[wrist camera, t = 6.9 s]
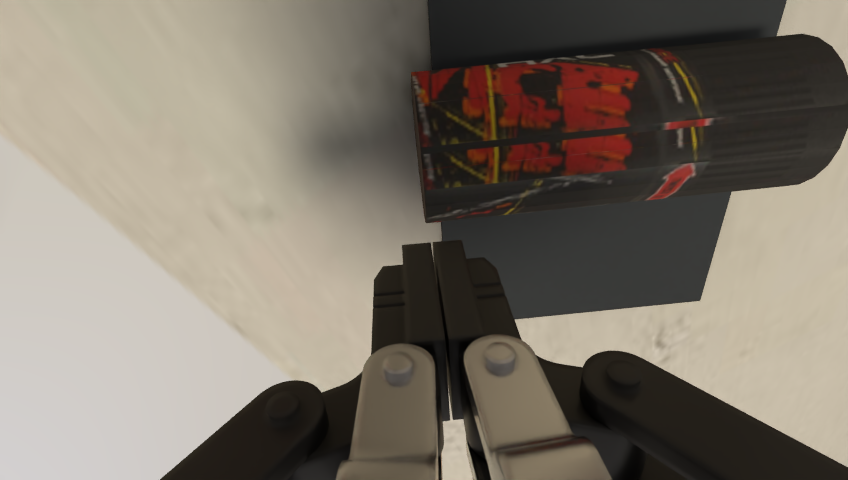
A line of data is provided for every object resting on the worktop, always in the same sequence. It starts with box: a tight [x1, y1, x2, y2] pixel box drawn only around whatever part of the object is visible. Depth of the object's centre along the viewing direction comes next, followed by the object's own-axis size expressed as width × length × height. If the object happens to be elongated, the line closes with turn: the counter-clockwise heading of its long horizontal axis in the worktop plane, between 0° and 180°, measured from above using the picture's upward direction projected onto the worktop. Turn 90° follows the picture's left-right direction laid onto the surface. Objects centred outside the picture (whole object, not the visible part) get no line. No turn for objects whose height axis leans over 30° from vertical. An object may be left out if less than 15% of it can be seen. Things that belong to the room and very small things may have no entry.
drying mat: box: [428, 0, 787, 319], centre depth 23 cm, size 20×15×1 cm
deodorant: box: [411, 34, 848, 223], centre depth 19 cm, size 6×6×15 cm
